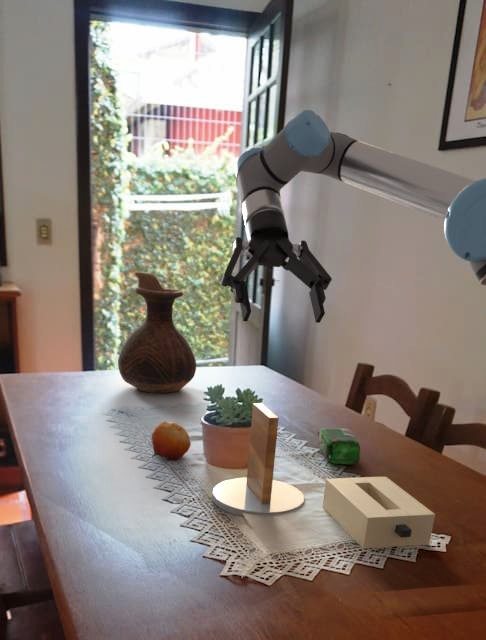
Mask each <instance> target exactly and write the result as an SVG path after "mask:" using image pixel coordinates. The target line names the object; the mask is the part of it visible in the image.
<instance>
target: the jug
mask: <svg viewBox="0 0 486 640" xmlns="http://www.w3.org/2000/svg"><path fill="white" fill-rule="evenodd" d="M134 275H135V277H136V278H137V280H138V286H137V287H135V289H134V291H135V293H136V294H138V295H139V296H141V297H142V298H143V299H144V301H145V306H146V317H145V320H144V322H143V323H142V324H141V325H140V326H138V327H137V328H136V329H134V330H133V331H132V332H131V334H130V335H129V336H128V337H127V340H126V341H125V342H124V344H123V346H122V348H121V350H120V353H119V356H118V359H117V366H118V371H119V374H120V376H121V378H122V380H123V381H124V382H125V383H126V384H128V385H131V386H132V387H134V388H136V389H137V390H139V391H141V392H146V393H153V394H160V393H163V394H164V393H173V392H178V391H181V389H183V388H184V387H185V386H186V385H187V384H189V383H190V382H191V381H192V380H193V379H194V377H195V374H196V370H197V360H196V356H195V353H194V351H193V349H192V346H191V345H190V343H189V341H188V340H187V338H186V337H185V336H184V334H183V333H181V331H180V330H179V329H178V328H176V325H175V323H174V321H173V320H174V319H173V308H174V307H173V306H174V303H175V301H176V299H178V298H181V297H182V296H184V292H183V291H182V290H179V289H175V288H163V286H162V285H161V284H160V282H159V280H158V278H157V276H156V275H155V274H154V273H152V272H143V271H138V272H135V273H134Z"/></svg>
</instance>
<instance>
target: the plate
mask: <svg viewBox="0 0 486 640" xmlns="http://www.w3.org/2000/svg"><path fill="white" fill-rule="evenodd" d="M211 498H212V499H211V500H212V501H213V503H214V504H215V505H216V507H218V508H219V509H221V510H223V511H225V512H227V513H230V514H233V515H235V516H239V517H244V518H245V515H244V513H251V514H261V515H262V514H263V515H273V514H283V513H288V512H292V511H295V510H297V509H300V508H301V506H303V504H304V502H305V495H304V493H303V492H302V491H301V490H300V489H298V488H297V487H295V486H293V485H292V484H289V483H286V482H284V481H281V480H275V479H273V482H272V492H271V502H270V504H261V502H260V501H259V500H258V499H257V497H256V496H255V495H254V493H253V492H252V491H251V490H250V488H249V487H248V486H247V477H237V478H236V477H235V478H230V479H226V480H222V481H221V482H219V483H217V484H216V485H215V486H214V487H213V489H212V496H211Z"/></svg>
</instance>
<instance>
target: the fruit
mask: <svg viewBox="0 0 486 640" xmlns="http://www.w3.org/2000/svg"><path fill="white" fill-rule="evenodd" d="M151 443H152V450H153V455H152V456H151V458H154V457H156V456H160V457H162V458H164V459H168V460H173V461H177V460H179V459H181V458H182V457H183V456H184V455H185V454H187V453H188V452H189V450H190V448H191V439H190V434H189V433H188V431H187V430H186V428H185V427H183V426H182V425H179V424H178V423H176V422H169V421H162V422H161V423H159V424H158V425H156V427H155V428H154V429H153V432H152V434H151Z"/></svg>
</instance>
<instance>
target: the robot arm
mask: <svg viewBox="0 0 486 640" xmlns="http://www.w3.org/2000/svg"><path fill="white" fill-rule="evenodd" d="M234 169H235V183H236V184H235V185H236V188H237V191H238V195H239V200H240V203H241V210H242V216H243V221H244V226H245V232H246V233H245V234H246V238H247V241H243V238H242V237H240V236H237V237H236V238H235V241H234V243H233V247H232V255H231V256H230V260H229V262H228V264H227V266H226V268H225V271H224V273H223V276H222V279H221V282H220V284H221V286H222V287H223V288H224V287H230V292H231V293H232V294H233V300H234V302H235V303H236V304H239V305H240V306H239V307H240V311H241V318H242V321H243V322H248V321H249V319H250V317H251V313H252V309H251V302H250V297H249V291H248V286H247V281H246V280H247V278H248V277H250V275H251V274H252V272H253V271H254V270H256V269H257V267H259V265H262V266H263V267H275V268H280V267H282V268H283V270H284V271H289V272H290V273H291V274H292V275H294V277H296V278H297V279H298V280H299V281H301V282H302V283H303V284H304V285H305V286H307V287H308V288H309V289H310V291H309V293H308V294H309V298H310V303H311V307H312V312H313V318H314V320H315V324H316V323H317V324H318V323H319V324H320V323H321V321H322V320H323V318H324V317H325V314H326V311H325V307H324V303H325V302H326V298H327V297H326V293H325V291H326V290H327V289H328V287H329V286H330V285H331V282H332V280H333V279H332V277H331V275H330V274H329V273H328V272H327V270H326V269H325V268H324V267H323V265H322V264H321V263H320V261H319V260H318V259H317V257H315V255H314V254H313V253H312V251H311V249H310V248H309V246H308V242H307V241H306V240H300V242H299V243H296V244H295V243H292V242H291V240H290V235H289V231H288V226H287V220H286V217H285V210H284V207H283V202H282V197H281V193H280V191H281V190H282V189H283V188H284V187H285V186H286V185H287V184H289V183H290V182H291V181H292V180H293V179H294V178H295V177H297V175H298V174H300V173H301V172H304V173H310V174H317V175H322V176H325V177H329V178H330V179H331V178H332V179H333V180H336V181H339V182H343V183H345V184H348V185H349V186H353V187H355V188H358V189H361V190H364V191H366V192H367V193H371V194H373V195H376V196H379V197H381V198H384V199H387V200H389V201H392V202H395V203H397V204H400V205H402V206H404V207H407V208H410V209H413V210H415V211H418V212H420V213H423V214H425V215H428V216H430V217H433V218H435V219H438V220H441V221H443V222H444V224H443V228H444V229H443V230H444V237H445V240H446V243H447V246H448V248H450V250H451V251H452V252H453V253H454V254H455V255H456V256H457V257H459V258H460V259H462V260H464V261H466V262H467V263H468V265H469V266H470V268H471V270H472V272H473V273H474V275H475V277H476V279H477V280H478V282H479V284H480V285H482V286H486V177H485V178H482V179H478V180H476V179H475V180H474V179H473V178H469V177H466V176H463V175H460V174H457V173H455V172H452V171H448V170H446V169H444V168H441V167H437V166H434V165H431V164H428V163H426V162H423V161H420V160H417V159H414V158H411V157H409V156H406V155H402V154H399V153H397V152H393V151H390V150H387V149H385V148H381V147H378V146H376V145H373V144H370V143H367V142H364V141H362V140H357V139H355V138H353V137H351V136H349V135H348V134H345V133H341V132H333V131H330V130H329V127H328V125H327V124H326V122H325V121H324V120H323V118H322V117H321V116H320V115H319V114H317V113H316V112H315V111H313V110H312V109H303V110H301V111H300V112H299V113H298V114H297V115H296V116H295V117H294V118H292V119H290V121H288V122H287V123H286V125H285V126H284V127H283V128H282V129H281V130H280V131H279V132H278V133H277V134H276V135H275V136H274V137H273V139H271V140H270V142H268V144H266V146H265V147H252V148H250V149H249V150H244V151H243V152H242V153H241V154H240V155H239V156H238V158H237V160H236V162H235V167H234ZM246 251H247V252H248V253H249V255H251V257H250V258H249V259H248V261H246V263H245V264H244V265H243V267H241V269H240V270H239V271H238V272H237V273H236V275H233V274H234V271H235V268H236V267H237V264H238V262H239V260H240V257H241V256H242V255H243V254H244V253H245V252H246Z"/></svg>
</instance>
